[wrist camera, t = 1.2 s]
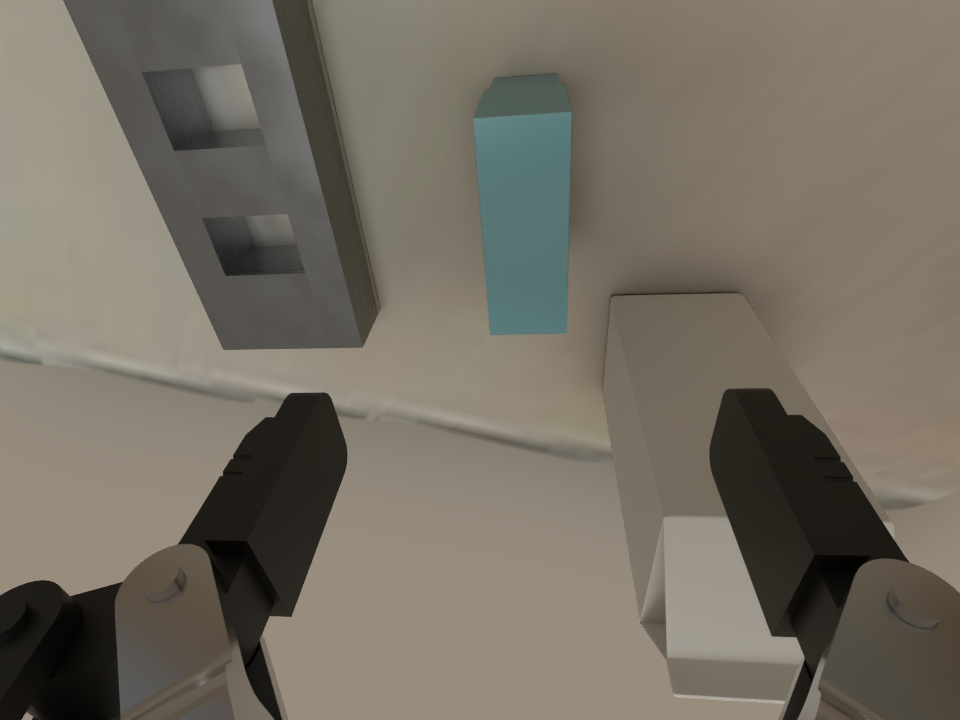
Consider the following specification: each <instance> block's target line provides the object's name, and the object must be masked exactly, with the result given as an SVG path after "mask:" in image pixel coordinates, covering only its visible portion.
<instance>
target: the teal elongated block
mask: <svg viewBox="0 0 960 720" xmlns="http://www.w3.org/2000/svg"><path fill="white" fill-rule="evenodd" d="M473 126H474V138H475V151H476V163H477V175H478V188H479V200H480V213H481V225H482V238H483V250H484V263H485V275H486V288H487V300H488V313H489V325H490V335H505V334H557V333H566V327H567V288H568V248H569V208H570V168H571V128H572V110H571V107H570V103H569V100H568V96H567V92H566V89H565V85H564V84H560V82H559V78H558V74H544V75H531V76H517V77H504V78H494V80H493V83H492V86H491V88H490V89H485V91H484V93H483V96H482V98H481V100H480V103H479V105H478V107H477V110H476V112H475V115H474V117H473Z"/></svg>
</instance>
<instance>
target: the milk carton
mask: <svg viewBox="0 0 960 720" xmlns="http://www.w3.org/2000/svg"><path fill="white" fill-rule="evenodd" d="M739 388H769V389H771V390H772V391H773V392H774V393H775V394H776V396H777V398H778V399H779V401H780V403H781V404H782V406H783V408H784V409H785V411H786V413H787V415H802V416H804V417H805V418H806V419H807V420H809V421H810V422H811V423H812V424H814V425H815V426H816V427H817V428H819V429H820V430H821V431H822V432H824V433H825V434H826V435H827V437H828V438H829V440H830V441H831V443H832V445H833V446H834V448H835V449H836V451H837V452H838V454H839V455H840V457H841V462H844V463H845V465H846V466H847V468H848V469H849V471H850V472H851V474H852V475H853V481H854V482H857V483H858V485H859V486H860V488H861V489H862V491H863V492H864V494H865V496H866V497H867V499H868V500H869V502H870V503H871V505H872V506H873V508H874V509H875V511H876V513H877V514H878V516H879V517H880V519H881V520H882V522H883V523H884V525H885V526H886V528H887V530H888V531H889V533H890V534H891V536H892V537H893V539H894V540H895V535H894V524H893V523H892V522H891V520H890V519H889V517H888V516H887V514H886V513H885V511H884V510H883V508H882V507H881V505H880V504H879V502H878V501H877V499H876V497H875V496H874V494H873V493H872V491H871V490H870V488H869V487H868V485H867V484H866V482H865V481H864V479H863V478H862V476H861V475H860V473H859V471H858V470H857V468H856V467H855V465H854V464H853V462H852V461H851V459H850V458H849V456H848V455H847V453H846V452H845V450H844V449H843V447H842V445H841V444H840V442H839V441H838V439H837V438H836V436H835V435H834V433H833V432H832V430H831V429H830V427H829V426H828V424H827V423H826V421H825V419H824V418H823V416H822V415H821V413H820V412H819V410H818V409H817V407H816V406H815V404H814V403H813V401H812V400H811V398H810V397H809V395H808V393H807V392H806V390H805V389H804V387H803V386H802V384H801V383H800V381H799V380H798V378H797V377H796V375H795V374H794V372H793V371H792V369H791V367H790V366H789V364H788V363H787V361H786V360H785V358H784V357H783V355H782V354H781V352H780V351H779V349H778V348H777V346H776V345H775V343H774V342H773V340H772V338H771V337H770V335H769V334H768V332H767V331H766V329H765V328H764V326H763V325H762V323H761V322H760V320H759V319H758V317H757V316H756V314H755V312H754V311H753V309H752V308H751V306H750V305H749V303H748V302H747V300H746V299H745V297H744V296H743V295H742V294H739V293H717V294H670V295H624V296H613V297H612V298H611V303H610V314H609V325H608V336H607V347H606V358H605V369H604V380H603V391H602V392H603V399H604V405H605V411H606V417H607V423H608V430H609V436H610V442H611V448H612V454H613V460H614V466H615V472H616V478H617V484H618V490H619V496H620V502H621V508H622V514H623V520H624V526H625V532H626V538H627V545H628V550H629V556H630V562H631V569H632V575H633V581H634V587H635V593H636V599H637V605H638V611H639V617H640V623H641V625H642V626H643V628H644V629H645V631H646V632H647V633H648V635H649V636H650V638H651V639H652V640H653V642H654V643H655V645H656V646H657V648H658V649H659V651H660V652H661V653H662V655H663V656H664V658H665V659H666V661H667V666H668V671H669V676H670V681H671V687H672V692H673V695H674V696H675V697H681V698H697V699H713V700H730V701H746V702H763V703H779V704H785V701H786V698H787V696H788V693H789V690H790V688H791V685H792V682H793V680H794V677H795V674H796V672H797V669H798V666H799V664H800V662H801V660H802V658H803V656H804V655H803V652H802V650H801V647H800V645H799V643H798V640H797V638H796V637H772V636H771V633H770V631H769V628H768V625H767V622H766V620H765V617H764V614H763V612H762V609H761V606H760V603H759V601H758V598H757V595H756V592H755V590H754V587H753V584H752V582H751V579H750V576H749V573H748V571H747V568H746V565H745V563H744V560H743V557H742V554H741V552H740V549H739V546H738V544H737V541H736V538H735V535H734V533H733V530H732V527H731V524H730V522H729V519H728V516H727V514H726V511H725V508H724V505H723V503H722V500H721V497H720V495H719V492H718V489H717V486H716V484H715V481H714V478H713V475H712V472H711V467H710V459H709V449H710V442H711V438H712V435H713V431H714V427H715V423H716V419H717V415H718V412H719V408H720V404H721V400H722V396H723V394H724V392H725V391H726V390H727V389H739Z"/></svg>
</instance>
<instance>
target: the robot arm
mask: <svg viewBox="0 0 960 720" xmlns="http://www.w3.org/2000/svg"><path fill="white" fill-rule="evenodd" d="M233 457H234V458H233V459H231V460H230V461H229V463H228V465H227V466H226V468H225V469H224V471H223V476H220V477H219V479H218V481H217V482H216V484H215V486H214V487H213V489H212V491H211V492H210V494H209V495H208V497H207V499H206V500H205V502H204V503H203V505H202V507H201V509H200V510H199V512H198V513H197V515H196V517H195V518H194V520H193V521H192V523H191V525H190V526H189V528H188V529H187V531H186V533H185V534H184V536H183V537H182V539H181V541H180V542H179V543H178V545H174V546H171V547H167V548H165V549H163V550H160V551H158V552H156V553H155V554H153V555H151V556H150V557H148V558H147V559H145V560H144V561H142V562H141V563H140V564H139V565H138V566H137V567H135V569H133V571H132V572H131V573H130V574H129V575H128V576H127V577H126V579H125V580H124V582H121V583H117V584H114V585H110V586H106V587H103V588H99V589H96V590H92V591H88V592H84V593H81V594H77V595H74V596H69V595H68V594H67V593H66V592H65V591H64V590H63V589H62V588H61V587H60V586H59V585H58V584H56V583H54V582H51V581H44V580H42V581H34V582H29V583H26V584H23V585H20V586H18V587H15V588H13V589H11V590H9V591H7V592H6V593H4V594H2V595H0V720H21V719H22V718H23V716H24V714H25V713H26V712H28V713H29V714H30V715H32V716H33V719H32V720H288V717H287V714H286V710H285V707H284V703H283V700H282V697H281V693H280V690H279V686H278V683H277V680H276V676H275V673H274V669H273V666H272V663H271V659H270V656H269V653H268V649H267V646H266V642H265V639H264V637H263V635H262V633H263V630H264V628H265V626H266V623H267V621H268V618H269V616H286V617H291V616H292V614H293V611H294V608H295V605H296V603H297V600H298V597H299V595H300V592H301V589H302V587H303V584H304V581H305V578H306V575H307V573H308V570H309V568H310V565H311V562H312V560H313V557H314V554H315V552H316V549H317V546H318V543H319V541H320V538H321V535H322V533H323V530H324V527H325V525H326V522H327V519H328V516H329V514H330V511H331V508H332V506H333V502H334V500H335V497H336V495H337V492H338V489H339V487H340V484H341V481H342V479H343V476H344V473H345V469H346V465H347V446H346V442H345V439H344V436H343V432H342V429H341V427H340V423H339V420H338V417H337V414H336V411H335V408H334V405H333V402H332V399H331V397H330V396H329V394H327V393H291V394H289V395H288V396H287V397H286V399H285V400H284V402H283V404H282V405H281V407H280V409H279V411H278V412H277V414H276V416H275V417H269V418H268V417H266V418H265V419H264V420H262V421H261V422H260V423H259V424H258V425H257V426H255V427H254V428H253V429H252V430H251V431H250V432H249V433H247V434H246V435H245V437H244V439H243V440H242V442H241V443H240V445H239V447H238V448H237V450H236V452H235V453H234V455H233ZM709 459H710V467H711V472H712V475H713V478H714V481H715V484H716V486H717V489H718V492H719V495H720V497H721V500H722V503H723V505H724V508H725V511H726V514H727V516H728V519H729V522H730V524H731V527H732V530H733V533H734V535H735V538H736V541H737V544H738V546H739V549H740V552H741V554H742V557H743V560H744V563H745V565H746V568H747V571H748V573H749V576H750V579H751V582H752V584H753V587H754V590H755V592H756V595H757V598H758V601H759V603H760V606H761V609H762V612H763V614H764V617H765V620H766V622H767V625H768V628H769V631H770V633H771V636H772V637H796V638H797V640H798V643H799V645H800V647H801V650H802V652H803V655H804V656H803V658H802V660H801V662H800V664H799V666H798V669H797V672H796V674H795V677H794V680H793V682H792V685H791V688H790V690H789V693H788V696H787V698H786V701H785V704H784V706H783V709H782V712H781V714H780V717H779V720H960V593H959V592H958V591H957V590H956V589H955V588H954V587H952V586H951V585H950V584H949V583H947V582H946V581H945V580H943V579H942V578H940V577H939V576H937V575H935V574H934V573H932V572H930V571H928V570H926V569H924V568H922V567H920V566H917V565H915V564H912V563H910V562H909V561H908V560H907V558H906V557H905V556H904V554H903V553H902V551H901V550H900V548H899V547H898V545H897V544H896V542H895V540H894V539H893V537H892V536H891V534H890V533H889V531H888V530H887V528H886V526H885V525H884V523H883V522H882V520H881V519H880V517H879V516H878V514H877V513H876V511H875V509H874V508H873V506H872V505H871V503H870V502H869V500H868V499H867V497H866V496H865V494H864V492H863V491H862V489H861V488H860V486H859V485H858V483H857V482H854V481H853V475H852V474H851V472H850V471H849V469H848V468H847V466H846V465H845V463H844V462H841V457H840V455H839V454H838V452H837V451H836V449H835V448H834V446H833V445H832V443H831V441H830V440H829V438H828V437H827V435H826V434H825V433H824V432H822V431H821V430H820V429H819V428H817V427H816V426H815V425H814V424H812V423H811V422H810V421H809V420H807V419H806V418H805V417H804V416H802V415H787V413H786V411H785V409H784V408H783V406H782V404H781V403H780V401H779V399H778V398H777V396H776V394H775V393H774V392H773V391H772V390H771V389H769V388H739V389H727V390H726V391H725V392H724V394H723V396H722V400H721V404H720V408H719V412H718V415H717V419H716V423H715V427H714V431H713V435H712V438H711V442H710V449H709Z"/></svg>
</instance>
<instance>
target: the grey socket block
mask: <svg viewBox="0 0 960 720" xmlns="http://www.w3.org/2000/svg"><path fill="white" fill-rule="evenodd" d="M63 1H64V3H65V5H66V7H67V9H68V12H69V14H70V16H71V18H72V20H73V23H74V25H75V27H76V29H77V31H78V33H79V36H80V38H81V40H82V42H83V44H84V47H85V49H86V51H87V53H88V55H89V57H90V60H91V62H92V64H93V66H94V68H95V71H96V73H97V75H98V77H99V79H100V81H101V84H102V86H103V88H104V90H105V92H106V95H107V97H108V99H109V101H110V103H111V105H112V108H113V110H114V112H115V114H116V116H117V118H118V121H119V123H120V125H121V127H122V129H123V132H124V134H125V136H126V138H127V140H128V142H129V145H130V147H131V149H132V151H133V153H134V156H135V158H136V160H137V162H138V164H139V166H140V169H141V171H142V173H143V175H144V177H145V180H146V182H147V184H148V186H149V188H150V190H151V193H152V195H153V197H154V199H155V201H156V204H157V206H158V208H159V210H160V212H161V214H162V217H163V219H164V221H165V223H166V225H167V228H168V230H169V232H170V234H171V236H172V238H173V241H174V243H175V245H176V247H177V249H178V252H179V254H180V256H181V258H182V260H183V262H184V265H185V267H186V269H187V271H188V273H189V276H190V278H191V280H192V282H193V284H194V286H195V289H196V291H197V293H198V295H199V297H200V300H201V302H202V304H203V306H204V308H205V310H206V313H207V315H208V317H209V319H210V321H211V324H212V326H213V328H214V330H215V332H216V334H217V337H218V339H219V341H220V343H221V345H222V348H223V350H241V349H300V348H359V347H363V346H364V344H365V341H366V339H367V337H368V335H369V333H370V330H371V328H372V326H373V324H374V322H375V319H376V317H377V315H378V313H379V311H380V305H379V301H378V296H377V292H376V288H375V283H374V279H373V274H372V270H371V265H370V261H369V256H368V252H367V247H366V243H365V238H364V234H363V229H362V225H361V221H360V216H359V212H358V207H357V203H356V198H355V194H354V189H353V185H352V180H351V176H350V171H349V167H348V163H347V158H346V154H345V149H344V145H343V140H342V136H341V131H340V127H339V122H338V118H337V113H336V109H335V105H334V100H333V96H332V91H331V87H330V82H329V78H328V73H327V69H326V64H325V60H324V55H323V51H322V47H321V42H320V38H319V33H318V29H317V24H316V20H315V15H314V11H313V6H312V2H311V0H63Z"/></svg>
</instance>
